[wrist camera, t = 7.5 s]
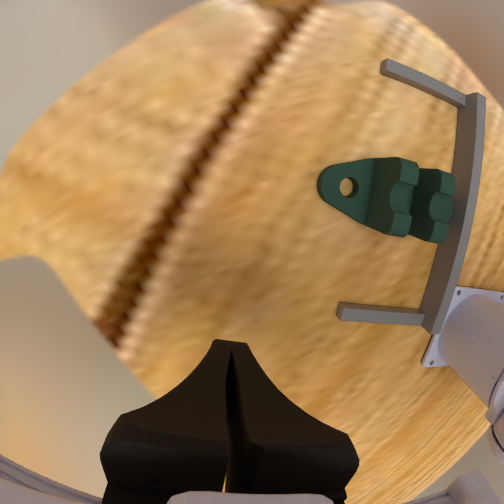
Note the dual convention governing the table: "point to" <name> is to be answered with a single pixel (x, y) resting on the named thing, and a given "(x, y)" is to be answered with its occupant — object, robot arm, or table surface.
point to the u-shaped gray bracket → (463, 214)
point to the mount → (393, 196)
